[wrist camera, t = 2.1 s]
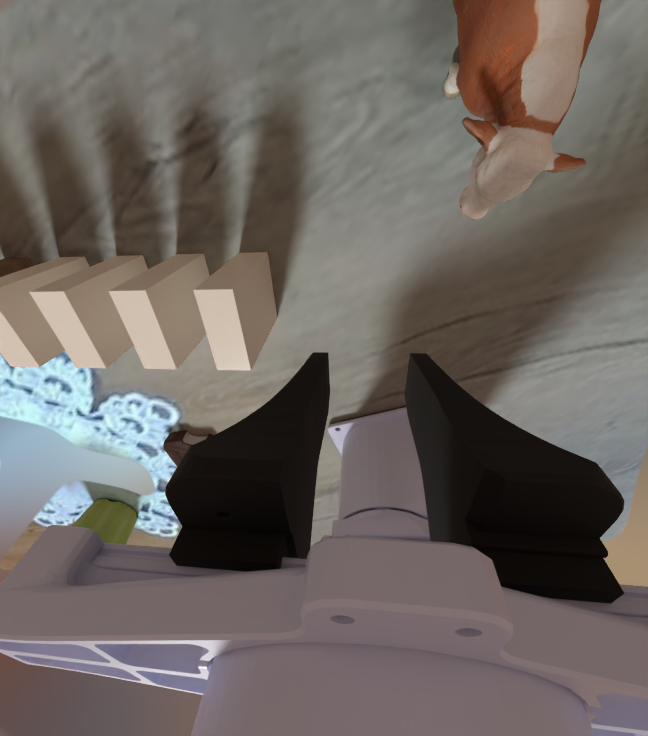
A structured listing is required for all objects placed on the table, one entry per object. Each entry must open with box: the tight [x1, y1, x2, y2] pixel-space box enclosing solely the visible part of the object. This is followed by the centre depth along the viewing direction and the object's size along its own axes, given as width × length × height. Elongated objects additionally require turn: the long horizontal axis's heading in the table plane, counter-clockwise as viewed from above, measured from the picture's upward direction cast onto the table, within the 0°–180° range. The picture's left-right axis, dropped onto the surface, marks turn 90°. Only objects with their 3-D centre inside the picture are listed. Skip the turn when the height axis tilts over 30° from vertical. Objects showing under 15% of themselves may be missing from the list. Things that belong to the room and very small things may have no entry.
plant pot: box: [72, 499, 137, 544], centre depth 39 cm, size 9×9×9 cm
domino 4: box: [193, 252, 277, 370], centre depth 19 cm, size 2×5×7 cm, turn 3°
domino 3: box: [109, 254, 210, 369], centre depth 19 cm, size 2×5×7 cm, turn 3°
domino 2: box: [29, 255, 148, 368], centre depth 20 cm, size 2×5×7 cm, turn 3°
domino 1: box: [0, 257, 89, 367], centre depth 20 cm, size 2×5×7 cm, turn 3°
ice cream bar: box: [164, 431, 213, 467], centre depth 35 cm, size 5×2×15 cm
